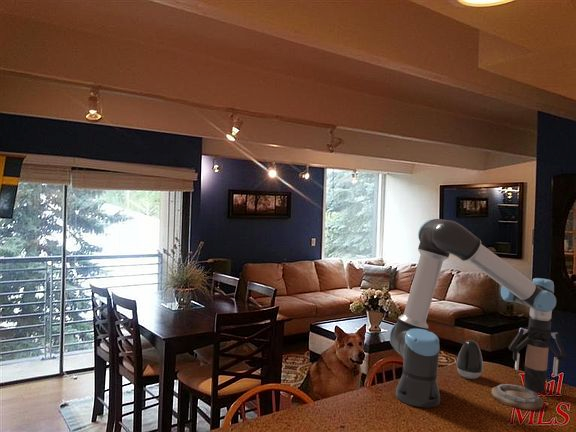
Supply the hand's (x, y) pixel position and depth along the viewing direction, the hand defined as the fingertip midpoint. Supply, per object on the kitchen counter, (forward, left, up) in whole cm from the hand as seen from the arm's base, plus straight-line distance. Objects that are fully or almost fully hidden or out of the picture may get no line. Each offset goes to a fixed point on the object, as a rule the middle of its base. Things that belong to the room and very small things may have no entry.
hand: (535, 372), depth 180 cm
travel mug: (0, 0, -7) cm, 7 cm away
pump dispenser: (-24, +2, -7) cm, 25 cm away
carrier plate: (-9, -15, -7) cm, 19 cm away
